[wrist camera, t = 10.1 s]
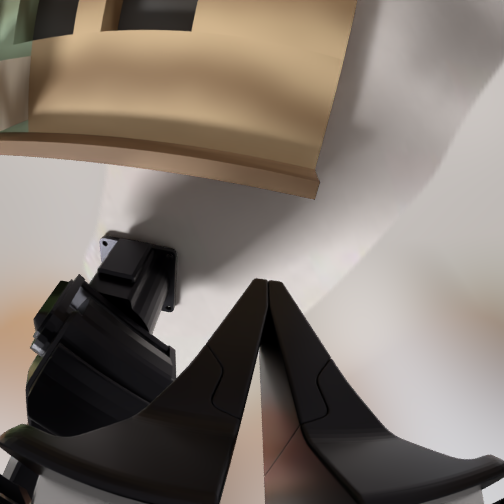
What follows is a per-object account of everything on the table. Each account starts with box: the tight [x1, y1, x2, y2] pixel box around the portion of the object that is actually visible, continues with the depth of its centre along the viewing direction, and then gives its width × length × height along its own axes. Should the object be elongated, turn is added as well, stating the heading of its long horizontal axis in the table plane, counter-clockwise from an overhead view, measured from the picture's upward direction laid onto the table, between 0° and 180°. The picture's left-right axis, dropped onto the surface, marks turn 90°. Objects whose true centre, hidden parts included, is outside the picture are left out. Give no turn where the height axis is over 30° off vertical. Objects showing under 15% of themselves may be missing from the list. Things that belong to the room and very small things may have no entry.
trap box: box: [0, 0, 357, 200], centre depth 13 cm, size 14×25×4 cm, turn 79°
